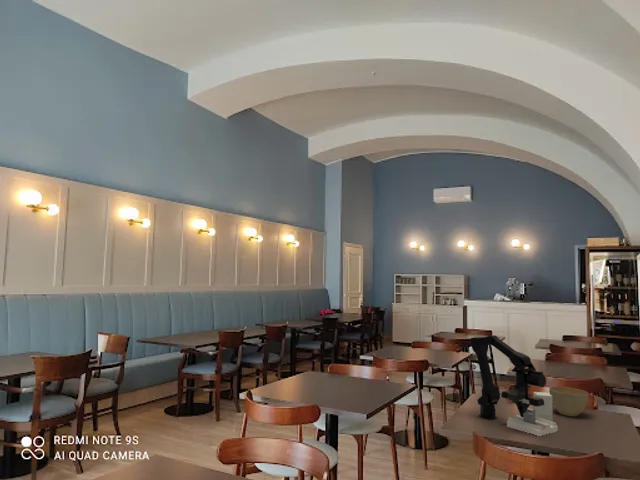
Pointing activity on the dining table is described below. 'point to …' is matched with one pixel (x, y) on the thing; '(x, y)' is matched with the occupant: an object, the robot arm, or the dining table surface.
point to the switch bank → (532, 425)
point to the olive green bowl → (568, 400)
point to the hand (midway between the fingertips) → (522, 417)
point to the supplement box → (544, 406)
